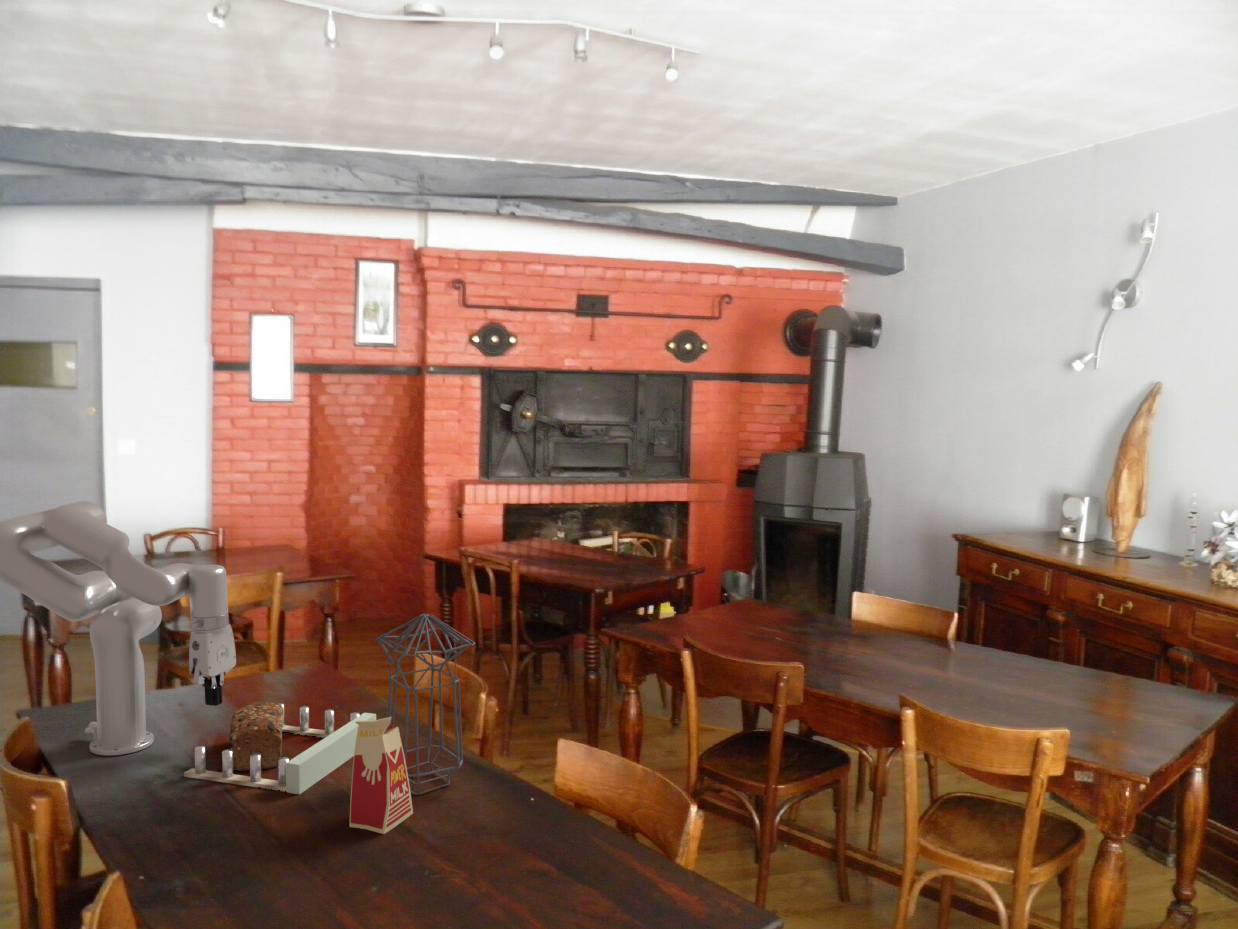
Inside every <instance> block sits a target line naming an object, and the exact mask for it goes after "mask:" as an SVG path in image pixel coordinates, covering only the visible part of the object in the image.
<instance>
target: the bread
mask: <svg viewBox="0 0 1238 929" xmlns="http://www.w3.org/2000/svg"><path fill="white" fill-rule="evenodd" d="M231 717H232V718H231V723H230V734H229V750H233V771H240V772H241V771H242V772H244V771H250V755H251V754H255V753H259V754H261V770H264V769H265V770H266V769H273V768H277V767H279V765H278V760H279V759H280V758H282V747H283V745H282V744H283V733H282V727H283V706H282V705H280V704H279V703H278V702H270V701H269V702H268V701H265V702H264V701H263V702H260V701H259V702H252V703H247V704H246V705H244V706H243V707H241V708H240V709H238V710H235V712H234V713H233V715H232V716H231Z"/></svg>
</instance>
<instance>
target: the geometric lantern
mask: <svg viewBox="0 0 1238 929" xmlns="http://www.w3.org/2000/svg"><path fill="white" fill-rule="evenodd" d="M407 626H408V627H407ZM435 626H436V627H435ZM405 627H407V628H406V629H404V631H402V633H400V635H392V634H393V633H395V632H397V631H399V630H401V629H403V628H405ZM428 627H429V629H428ZM415 628H416V630H415V631H414V629H415ZM413 631H414V633H413V634H411V633H412V632H413ZM436 631H441V632H442V634H443V636H444V638H445V641H446V643H447V645H448V647H449V648H448V649H445V647H444V644H443V642H442V641H441V640H440V637H439V636H438V634H437V632H436ZM423 635H425V636H426V637H425V638H424V639H423V640H422V641H421V639H422V636H423ZM432 635H433V636H434V637H435V640H436V642H437V644H438V645H439V646H440V648H441V650H432V649H431V648H432V647H431V641H430V638H431V636H432ZM408 638H411V640H410V641H409V643H408V642H407V641H408ZM416 638H417V641H416V646H415V647H412V645H413V643H414V641H415V640H416ZM449 638H451V641H452V642H453V647H452V643H451V641H450V640H449ZM391 639H394V640H391ZM399 640H400V641H399ZM374 641H375V642H378V644H379V645H380V647H381V648H382V650H383V651H384V653H385V655H386V656H387V661H388V662H389V685H388V686H389V687H388V699H387V700H388V702H387V713H386V714H387V715H386V718H388V717H391V722H390V724H393V725H395V724H394V722H395V721H394V720H395V711H396V698H397V685H399V686H400V687H402V688H403V689H405V690H406V700H405V702H406V703H405V717H404V718H405V719H404V739H403V741H404V742H403V752H404V756H405V762H406V763H407V754H408V753H413V752H415V764H414V765H412V766H411V765H410V766H407V767H406V768H407V771H408V770H411V769H414V768H415V769H416V770H415V772H416V773H414V774H408V779H409V783H411V784H412V785H413V791H412V789H410V792H411V795H414V796H418V795H424V794H427V793H429V792H431V791H432V792H433V791H435V790H438V789H440V788H444V787H447V786H450V783H451V775H452V774H454V773H455V772H457V771H458V770H459V769H460V768H461V767H462V764H463V762H464V754H463V753H464V751H463V735H462V734H463V732H462V730H463V729H462V712H461V711H462V707H461V688H460V687H461V684H460V682H461V678H458V677H457V656H461V655H462V653H463V652H464V651H466V650H467V649H469V648H470V647H473V646H474V645H476V642H475V641H473V640H472V639H470V638H469V637H467V636H466V635H464V634H462V633H461V632H459V631H458V630H456V629H455V628H453V627H451V626H450V625H448V624H447V623H446V622H445V623H444V621H442V620H440V619H439V618H437V617H436V616H434V615H433V614H428V613H422V614H420V615H418V616H416V617H414V618H413V619H410V620H409V621H407V622H405V623H404V624H401V625H400V626H397V627H395V628H394V629H392V630H389V631H388V632H386V633H383V634H381V635H379V637H377V638H376V639H375V640H374ZM398 641H399V642H398ZM403 643H404V646H403V645H402V644H403ZM407 643H408V645H407ZM425 643H427V650H420V649H421V648H422V646H423V645H424V644H425ZM463 643H465V644H463ZM384 644H385V645H387V647H385V645H384ZM457 645H459V646H457ZM394 646H395V647H394ZM399 648H400V649H402V650H398V649H399ZM390 649H391V651H390ZM457 650H458V651H457ZM410 651H414V652H413V653H412V654H409V652H410ZM390 652H391V654H392V656H391V655H390ZM395 653H397V654H400V657H398V658H397V659H396V657H395ZM453 653H454V654H453ZM425 654H427V655H429V656H430V660H431V662H429V661H428V659H427V658H426V657H425V656H424V655H425ZM437 654H438V655H439V654H444V661H443V662H439V663H436V664H434V655H437ZM452 654H453V655H452ZM420 655H421V656H420ZM405 657H413V658H415V657H416V658H417V659H418V660H420V661H421V662H423V663H425V664H426V665H428V667H427V668H423V669H418V670H412V671H407V672H403V671H402V669H401V666H402V662H403V658H405ZM452 660H454V675H453V672H452V671H451V668H450V666H449V664H448V663H450V661H452ZM392 663H393V664H394V665H395V666H396V670H395V673H394V674H393V675H392ZM437 667H440V668H437ZM444 667H446V669H447V671H446V670H444V669H443V668H444ZM428 671H430V672H431V673H430V675H431V676H430V687H429V686H428V687H424V688H416V687H417V685H418V684H419V683H420V681H421V680H422V679H423V677H424V676H425V674H427V672H428ZM420 672H423V673H422V674H421V676H420V677H419V679H418V680H417V682H416V683H415V684H414V686H413V687H410V686H409V684H408V682H407V680H406V677H405V675H409V674H415V673H420ZM435 672H438V685H434V683H435V682H434V680H435V675H434V674H435ZM442 673H443V674H445V675H447V676H449V677H450V678H451V681H452V682H450V683H444V684H443V682H442V680H443V679H442ZM398 676H400V677H401V679H402V681H403V683H404V684H402V683H401V682H399V681H398ZM447 686H452V701H453V702H452V704H453V716H454V732H455V734H454V735H455V749H456V750H455V752H456V754H455V753H453V752H452V751H450V750H449V749H447V748H446V747H444V726H443V725H444V723H443V722H444V721H443V720H444V718H443V687H447ZM436 688H438V692H439V694H438V696H439V697H438V698H439V732H440V734H439V735H440V737H439V738H440V745H436V744H435V745H434V744H432V730H433V729H432V726H433V724H432V723H433V706H434V705H433V704H434V702H433V700H434V699H433V698H434V689H436ZM429 689H430V694H429V695H430V698H429V716H428V717H429V721H428V723H429V724H428V739H427V740H428V741H427V745H423V746H419V719H418V717H419V715H418V710H419V709H418V705H419V704H418V692H421V691H426V690H429ZM392 690H393V693H392ZM456 690H457V691H456ZM410 691H411V692H414V728H415V730H414V733H415V736H414V737H415V748H412V749H408V732H409V730H408V729H409V728H408V727H409V713H410V712H409V710H410V709H409V707H410ZM456 692H457V694H456ZM392 694H393V696H392ZM456 696H457V697H456ZM391 706H392V707H391ZM431 748H432V749H438V751H437V753H436V755H435V756H434V757H433V760H432V761H431V762H430V750H431ZM425 749H427V756H426V761H425V762H422V763H420V762H419V761H420V760H419V757H420V756H419V755H420V754H419V751H420V750H425ZM442 751H444V752H445V753H447V754H448V755H450V756H452V757H453V758H455V759H456V765H453V766H449V767H444V768H443V767H441V766H439V765H438V764H437V763H434V762H435V761H436V760H437V758H438V756H439V754H440V752H442ZM424 765H425V770H423V771H420V766H424ZM428 765H430V769H429V768H428ZM434 767H436V768H438V769H436V770H434ZM443 772H445V773H446V774H444V775H442V774H440V773H443ZM434 774H435V775H436V776H437V777H434V778H430V779H425V780H423V781H421V780H420V777H421V778H422V777H425V776H429V775H430V776H431V775H434ZM411 778H417V782H415V781H413V780H412V779H411ZM439 779H440V780H441V779H442V780H444V781H446V783H445V784H442V785H438V786H436V787H432V788H430V789H428V790H427V789H426V790H423V791H422V787H423V786H422V784H426V783H428V782H432V781H435V780H436V781H437V780H439ZM417 786H419V792H417Z"/></svg>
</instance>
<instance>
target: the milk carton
mask: <svg viewBox="0 0 1238 929" xmlns="http://www.w3.org/2000/svg"><path fill="white" fill-rule="evenodd" d="M391 717H392V716H390V717H388V718H387V717H384V718H380V719H376V720H375V721H356V722H355V723H357V724H358V725H359V726H358V731H357V737H356V743H355V752H354V756H353V762H352V773H351V787H350V800H349V804H350V805H349V824H348V825H349V828H356V829H362V830H368V831H371V832H375V833H377V834H378V833H379V834H381V835H385V834H387V833H388V832H390V831H391V830H392V829H394V828H395V827H397V826H398V825H400V824H401V823H403V822H404V821H405V820H407V819H408V818H409V817H410V816H412V815H413V814H414V809H413V802H412V793H411V792H410V790H411V786H410V781H409V779H410V778H409V779H408V775H409V773H408V770H407V768H408V767H407V761H406V762H405V756H404V752H403V751H404V746H403V743H402V738H401V734H400V728H399V726H398V725H395V724H394V725H393V724H391Z"/></svg>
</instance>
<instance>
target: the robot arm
mask: <svg viewBox="0 0 1238 929" xmlns="http://www.w3.org/2000/svg"><path fill="white" fill-rule="evenodd" d="M107 520H108V519H107V514H106V513H105V511H104V510H103V508H102V507H101V506H99V505H98V504H96V503H94V502H91V501H86V500H85V501H83V500H82V501H76V502H73V503H68V504H63V505H60V506H57V507H55V508H51V509H48V510H44V511H38V512H34V513H30V514H25V515H20V516H15V517H11V518H8V519H4V520H0V582H1V583H2V584H4V585H5V586H8V587H10V588H12V589H13V590H14V591H17V592H19V593H21V594H23V595H24V596H25V597H28V598H29V599H31V600H33V602H36V603H37V604H39V605H41V606H43V607H44V608H46V609H47V610H49V611H51V613H54V614H56V615H58V616H59V617H61V618H63V619H64V620H66V621H69V622H80V621H84V620H87V619H89V618H92V617H93V619H92V621H91V622H90V625H89V638H90V639H89V640H90V643H91V648H92V652H93V659H94V670H95V671H94V674H95V675H94V676H95V679H94V680H95V703H96V721H90V722H89V723H88V727H86V728H85V729H84V733H85V734H86V735H93V740H92V741H90V743H89V751H90V753H93V754H95V755H98V756H109V757H111V756H122V755H127V754H132V753H136V752H139V751H142V750H144V749H146V748H148V747H149V746H151V745H152V744H153V743H154V740H155V736H154V734H153V732H150V731H148V730H147V723H146V722H147V720H146V719H147V718H146V687H145V686H146V682H145V680H146V678H145V675H146V674H145V663H144V662H145V661H144V656H143V652H142V650H141V648H140V640H141V639H143V638H145V637H146V636H148V635H151V634H152V633H154V632H155V631H156V630H157V629H158V628H159V626H160V625H161V622H162V619H163V618H162V617H163V615H162V614H163V613H162V609H161V606H162V607H163V606H166V605H169V604H171V603H173V602H176V601H178V600H179V599H183V598H185V597H189V606H190V608H189V609H190V628H191V632H190V637H189V648H188V649H189V650H188V666H189V667H188V668H189V674H190V676H191V677H193V684H194V685H202V688H203V689H204V701H205V702H204V703H205V705H207V706H213V707H217V706H219V705H221V704H223V703H224V702H223V701H224V700H223V685H224V682H225V676H226V674H228V673H229V672H230V671H231V670H232V669H233V668H234V667H235V666H236V665H237V653H236V644H235V642H236V641H235V636H234V631H233V628H232V625H231V624H230V622H229V621H230V620H229V601H228V600H229V598H228V581H227V580H228V578H227V570H226V568H225V567H224V566H223V565H220V564H202V565H198V564H192V563H184V562H183V563H182V562H176V563H173V564H172V563H171V564H169V565H167V566H165V567H162V568H160V569H156V568H154V567H152V566H150V565H148V564H146V563H144V562H143V561H141V560H139V559H138V558H137V557H135V556H134V555H133V554H132V553H131V552H130V550H129V545H130V537H129V535H128V534H126V533H125V532H123V531H121V530H119V529H117V528H116V527H113V525H110V524H108V523H107ZM55 547H62V548H64V549H66V550H68V551H70V552H72V553H73V554H76V555H77V556H79V557H81V558H82V559H85V560H87V561H88V562H90V563H92V564H94V565H96V566H98V567H100V568H101V569H102V570H103V571H102V570H92V571H88V572H84V573H82V574H75V573H72V572H70V571H68V570H66V569H64V568H62V567H61V566H59V565H58V564H56V563H54V562H52V561H51V560H47V559H45V558H42V557H38V556H36V555H33V554H34V553H37V552H41V551H44V550H48V549H51V548H55Z"/></svg>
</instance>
